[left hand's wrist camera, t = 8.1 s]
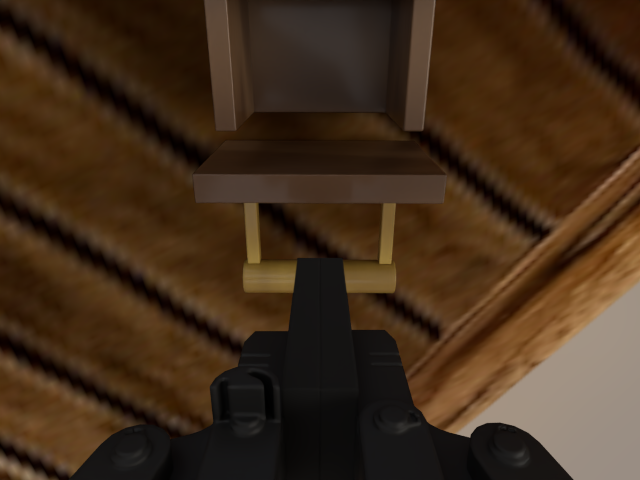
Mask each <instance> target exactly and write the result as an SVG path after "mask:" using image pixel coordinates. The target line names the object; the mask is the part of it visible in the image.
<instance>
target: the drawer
mask: <svg viewBox="0 0 640 480" xmlns="http://www.w3.org/2000/svg"><path fill="white" fill-rule="evenodd" d="M435 4H436V0H204V7H205V18H206V29H207V40H208V51H209V62H210V73H211V84H212V95H213V106H214V117H215V128H216V131H236V130H237V129H238V128H239V127H240V126H241V125H242V124H243V123H244V122H245V121H246V120H247V119H248V118H249V117H250V116H251V115H252V114H253V113H254V112H337V113H387V114H388V115H389V116H390V117H391V118H392V119H393V120H394V121H395V122H396V123H397V124H398V125H399V127H400V128H401V129H402V130H403V131H423V129H424V120H425V109H426V99H427V88H428V78H429V67H430V56H431V46H432V35H433V25H434V14H435ZM192 177H193V186H194V195H195V202H196V203H243V205H244V219H245V233H246V247H247V260H245V262H244V266H243V288H244V291H245V292H246V293H293V290H294V282H295V274H296V265H297V260H261V246H260V228H259V210H258V203H381V211H380V228H379V244H378V260H343V265H344V274H345V282H346V290H347V293H394V291H395V287H396V267H395V263H394V261H393V260H392V247H393V234H394V220H395V207H396V203H444V195H445V187H446V179H447V175H446V174H445V173H444V172H443V171H442V170H441V169H440V168H439V166H438V165H437V164H436V163H435V162H434V161H433V160H432V159H431V158H430V157H429V156H428V155H427V154H426V153H425V152H424V151H423V150H422V149H421V148H420V147H419V146H418V145H417V144H416V143H415V142H414V141H268V140H226V141H225V142H224V143H223V144H222V145H221V146H220V147H219V148H218V149H217V150H216V151H215V152H214V153H213V154H212V155H211V156H210V157H209V158H208V159H207V160H206V161H205V162H204V163H203V164H202V165H201V166H200V167H199V168H198V169H197V170H196V171H195V172H194V173H193V174H192Z"/></svg>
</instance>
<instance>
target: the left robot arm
mask: <svg viewBox="0 0 640 480" xmlns="http://www.w3.org/2000/svg"><path fill="white" fill-rule="evenodd" d="M210 394H211V403H212V413H213V424H212V425H211V426H209V427H207V428H205V429H203V430H202V431H199V432H196V433H193V434H190V435H186V436H182V437H178V438H174V439H170V437H169V435H168V434H167V433H166V432H165V430H164V429H162V428H160V427H157V426H155V425H136V426H132V427H128V428H125V429H123V430H121V431H119V432H117V433H115V434H113V435H111V436H110V437H109V438H108V439H107V440H105V441H104V442H103V443H102V444H101V445H100V446H99V447H98V448H97V449H96V450H95V451H94V452H93V454H92V455H91V456H90V457H89V458H88V459H87V460H86V461H85V462H84V464H83V465H82V466H81V467H80V468H79V469H78V470H77V471H76V472H75V473H74V475H73V476H72V477H71V478H70V479H69V480H573V479H572V478H571V476H570V475H569V474H568V473H567V472H566V471H565V470H564V469H563V468H562V467H561V465H560V464H559V463H558V462H557V461H556V460H555V459H554V458H553V457H552V456H551V455H550V453H549V452H548V451H547V450H546V449H545V448H544V447H543V446H542V445H541V444H540V442H538V441H537V440H536V439H535V438H534V437H532V436H531V435H530V434H529V433H527V432H525V431H523V430H521V429H519V428H517V427H515V426H512V425H507V424H503V423H486V424H484V425H481V426H479V427H477V428H476V429H475V430H474V431H473V433H472V434H471V437H470V438H469V437H465V436H461V435H457V434H453V433H449V432H446V431H443V430H440V429H438V428H436V427H434V426H432V425H431V424H429V423H428V422H427V421H426V419H425V417H424V416H423V414H422V412H421V411H420V410H418V409H417V408H416V407H415V406H414V404H413V400H412V397H411V393H410V390H409V386H408V383H407V379H406V376H405V372H404V369H403V366H402V362H401V358H400V356H399V351H398V348H397V344H396V341H395V340H394V339H393V338H392V337H391V336H390V335H389V334H388V333H387V332H386V331H385V330H351V322H350V314H349V306H348V298H347V290H346V282H345V274H344V265H343V258H297V265H296V274H295V282H294V290H293V298H292V306H291V314H290V322H289V330H288V331H255V332H254V333H253V334H252V335H251V336H250V337H249V338H248V339H247V340H246V341H245V342H244V346H243V349H242V353H241V357H240V360H239V364H238V367H236V368H233V369H230V370H227V371H225V372H223V373H222V374H221V375H219V376H218V377H216V378H215V380H214V381H213V383H212V384H211V386H210Z"/></svg>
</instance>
